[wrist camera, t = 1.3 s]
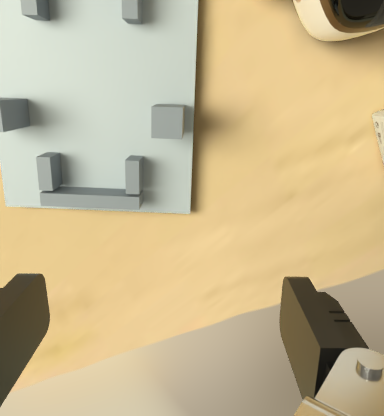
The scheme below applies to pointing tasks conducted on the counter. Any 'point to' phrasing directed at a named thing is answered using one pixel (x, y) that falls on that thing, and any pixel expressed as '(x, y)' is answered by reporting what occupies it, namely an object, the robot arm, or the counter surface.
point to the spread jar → (340, 18)
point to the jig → (98, 103)
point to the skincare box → (379, 130)
